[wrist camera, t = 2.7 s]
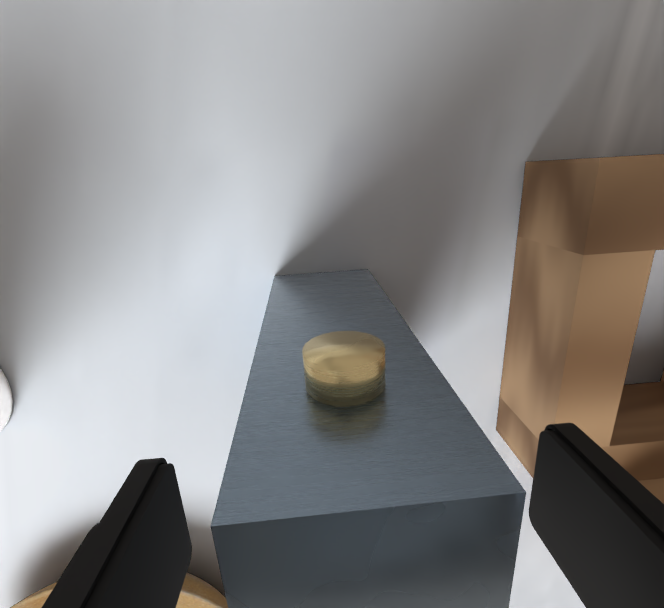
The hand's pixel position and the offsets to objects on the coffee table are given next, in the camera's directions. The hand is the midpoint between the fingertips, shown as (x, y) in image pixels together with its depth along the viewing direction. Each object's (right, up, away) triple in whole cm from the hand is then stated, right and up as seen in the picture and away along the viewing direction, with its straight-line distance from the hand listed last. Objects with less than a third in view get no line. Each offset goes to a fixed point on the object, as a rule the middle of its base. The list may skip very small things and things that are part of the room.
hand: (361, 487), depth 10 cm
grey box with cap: (-1, +3, +7) cm, 8 cm away
